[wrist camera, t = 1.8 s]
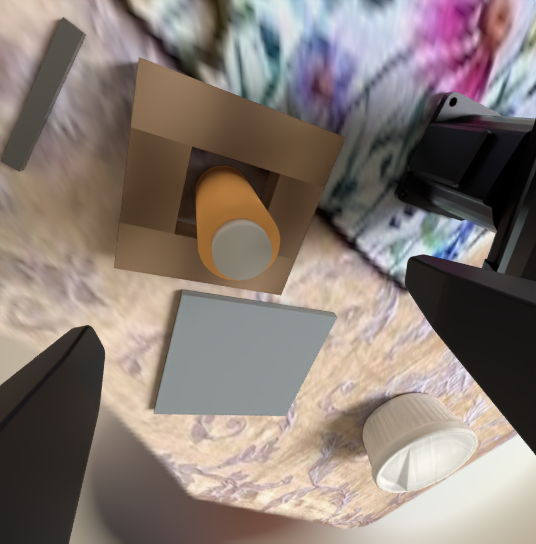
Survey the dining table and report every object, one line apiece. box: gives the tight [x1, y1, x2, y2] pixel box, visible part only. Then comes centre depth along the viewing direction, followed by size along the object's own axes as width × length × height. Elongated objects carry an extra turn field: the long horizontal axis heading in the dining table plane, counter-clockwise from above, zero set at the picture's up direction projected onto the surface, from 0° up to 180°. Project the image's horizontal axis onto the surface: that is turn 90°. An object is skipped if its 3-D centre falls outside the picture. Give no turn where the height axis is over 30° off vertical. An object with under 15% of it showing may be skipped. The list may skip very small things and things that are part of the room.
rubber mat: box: [154, 290, 337, 416], centre depth 25 cm, size 12×12×1 cm
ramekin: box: [363, 393, 478, 493], centre depth 33 cm, size 11×11×5 cm
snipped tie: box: [1, 17, 86, 171], centre depth 14 cm, size 7×1×1 cm, turn 142°
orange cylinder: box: [195, 165, 280, 281], centre depth 14 cm, size 3×3×8 cm
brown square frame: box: [114, 57, 345, 295], centre depth 17 cm, size 10×10×2 cm
